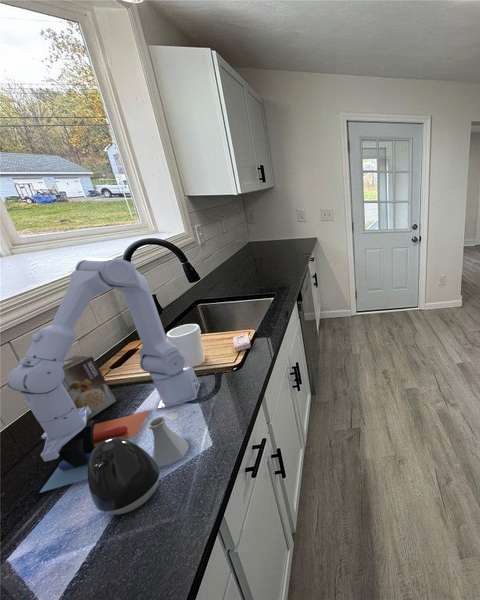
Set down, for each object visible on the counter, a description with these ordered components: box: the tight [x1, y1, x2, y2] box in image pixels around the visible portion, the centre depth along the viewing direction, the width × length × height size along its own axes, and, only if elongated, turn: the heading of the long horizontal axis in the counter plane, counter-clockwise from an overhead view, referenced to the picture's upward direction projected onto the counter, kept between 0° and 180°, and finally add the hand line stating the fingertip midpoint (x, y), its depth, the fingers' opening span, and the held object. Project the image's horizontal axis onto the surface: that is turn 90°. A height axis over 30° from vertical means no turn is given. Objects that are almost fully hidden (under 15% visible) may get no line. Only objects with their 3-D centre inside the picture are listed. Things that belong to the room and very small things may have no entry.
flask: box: [147, 416, 190, 468], centre depth 72 cm, size 7×7×10 cm
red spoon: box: [93, 425, 127, 442], centre depth 78 cm, size 12×4×2 cm, turn 112°
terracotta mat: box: [93, 410, 150, 447], centre depth 82 cm, size 14×10×1 cm
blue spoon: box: [57, 452, 92, 470], centre depth 72 cm, size 12×4×2 cm, turn 112°
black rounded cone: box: [87, 437, 161, 515], centre depth 61 cm, size 10×10×15 cm
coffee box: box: [62, 355, 117, 421], centre depth 86 cm, size 9×6×16 cm
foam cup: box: [165, 323, 206, 368], centre depth 108 cm, size 10×9×13 cm
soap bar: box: [232, 333, 252, 352], centre depth 120 cm, size 5×9×2 cm, turn 29°
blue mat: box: [38, 436, 137, 494], centre depth 72 cm, size 14×10×1 cm
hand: (85, 458), depth 72 cm, fingers open, 3 cm apart
